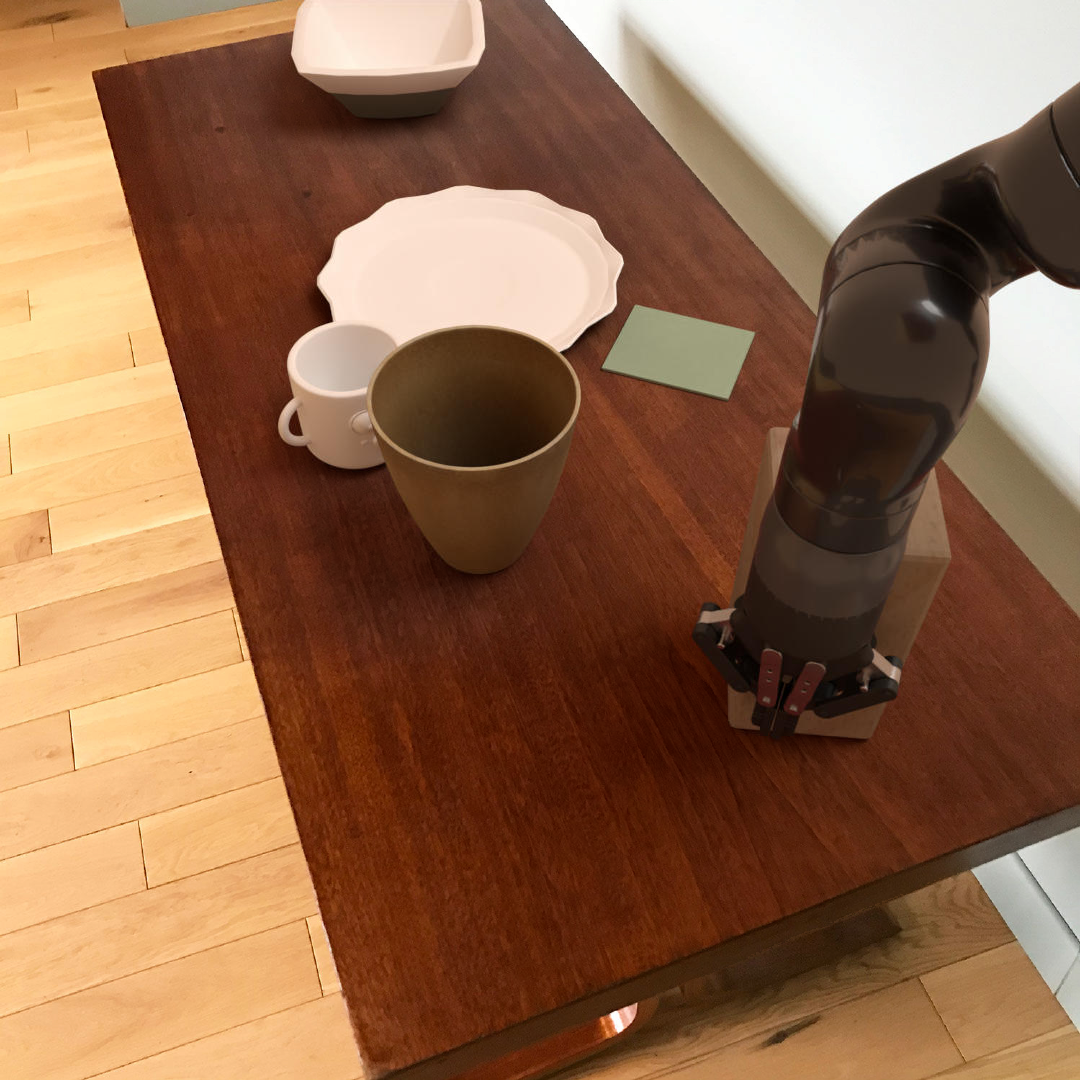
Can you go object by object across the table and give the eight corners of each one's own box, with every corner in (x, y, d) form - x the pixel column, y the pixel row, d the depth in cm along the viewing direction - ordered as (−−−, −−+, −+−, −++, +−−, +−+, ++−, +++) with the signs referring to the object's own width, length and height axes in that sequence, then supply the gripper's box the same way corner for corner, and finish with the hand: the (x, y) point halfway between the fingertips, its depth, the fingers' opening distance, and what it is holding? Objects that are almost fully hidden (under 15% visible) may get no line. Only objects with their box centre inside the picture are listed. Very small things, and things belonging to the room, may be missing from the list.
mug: (324, 511, 92) (306, 431, 85) (261, 443, 97) (238, 363, 90) (442, 445, 97) (434, 365, 90) (376, 384, 102) (363, 303, 95)
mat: (754, 334, 106) (755, 332, 106) (727, 401, 100) (728, 398, 100) (634, 306, 109) (635, 304, 109) (601, 369, 103) (601, 367, 103)
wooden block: (727, 730, 78) (774, 545, 63) (725, 615, 84) (767, 423, 69) (872, 742, 77) (955, 558, 62) (859, 626, 84) (931, 434, 69)
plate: (366, 195, 122) (363, 175, 120) (633, 217, 119) (635, 197, 117) (286, 371, 103) (282, 351, 101) (602, 402, 100) (603, 382, 98)
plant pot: (376, 609, 85) (348, 462, 73) (405, 470, 95) (384, 319, 83) (571, 620, 84) (575, 473, 72) (580, 478, 94) (585, 327, 82)
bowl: (482, 48, 144) (479, -20, 138) (491, 140, 129) (488, 69, 123) (311, 55, 143) (299, -13, 137) (299, 149, 128) (286, 78, 122)
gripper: (687, 575, 59) (659, 742, 73) (939, 648, 56) (862, 808, 70) (723, 480, 64) (690, 653, 77) (958, 542, 61) (882, 711, 74)
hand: (772, 726), depth 73 cm, fingers closed
